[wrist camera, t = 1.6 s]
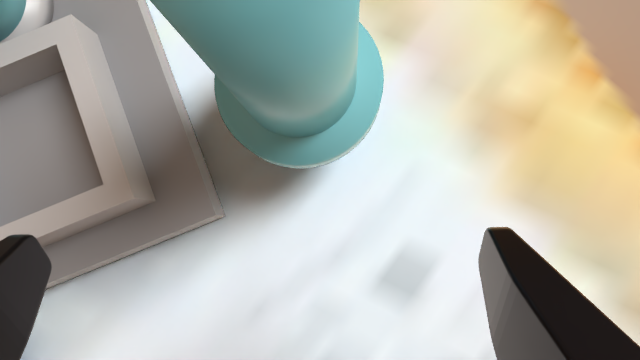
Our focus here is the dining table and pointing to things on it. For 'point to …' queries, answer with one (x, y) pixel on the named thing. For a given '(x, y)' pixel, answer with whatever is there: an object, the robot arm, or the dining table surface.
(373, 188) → the dining table surface
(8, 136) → the grey stepped base
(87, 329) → the dining table surface
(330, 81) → the teal plastic cylinder
